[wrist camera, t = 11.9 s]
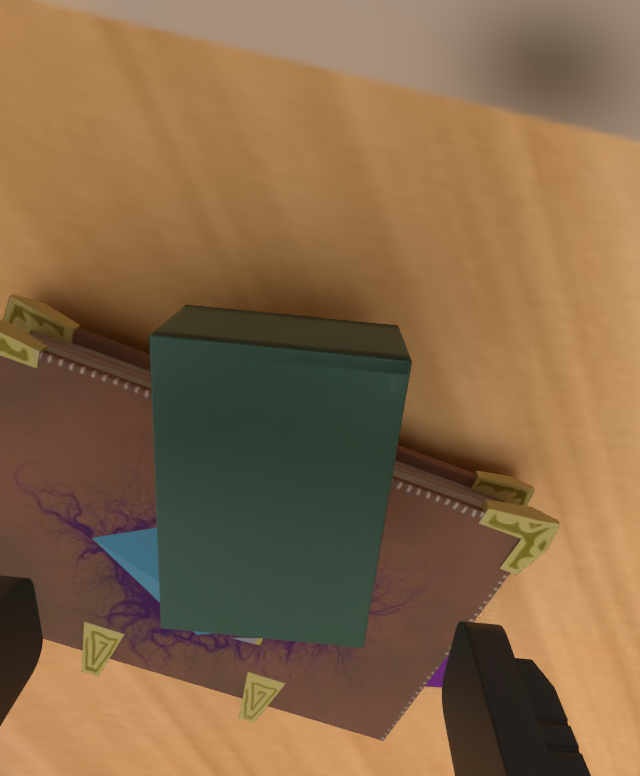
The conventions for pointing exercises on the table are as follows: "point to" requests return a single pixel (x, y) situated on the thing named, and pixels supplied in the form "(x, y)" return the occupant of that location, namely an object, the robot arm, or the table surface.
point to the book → (140, 548)
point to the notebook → (273, 470)
